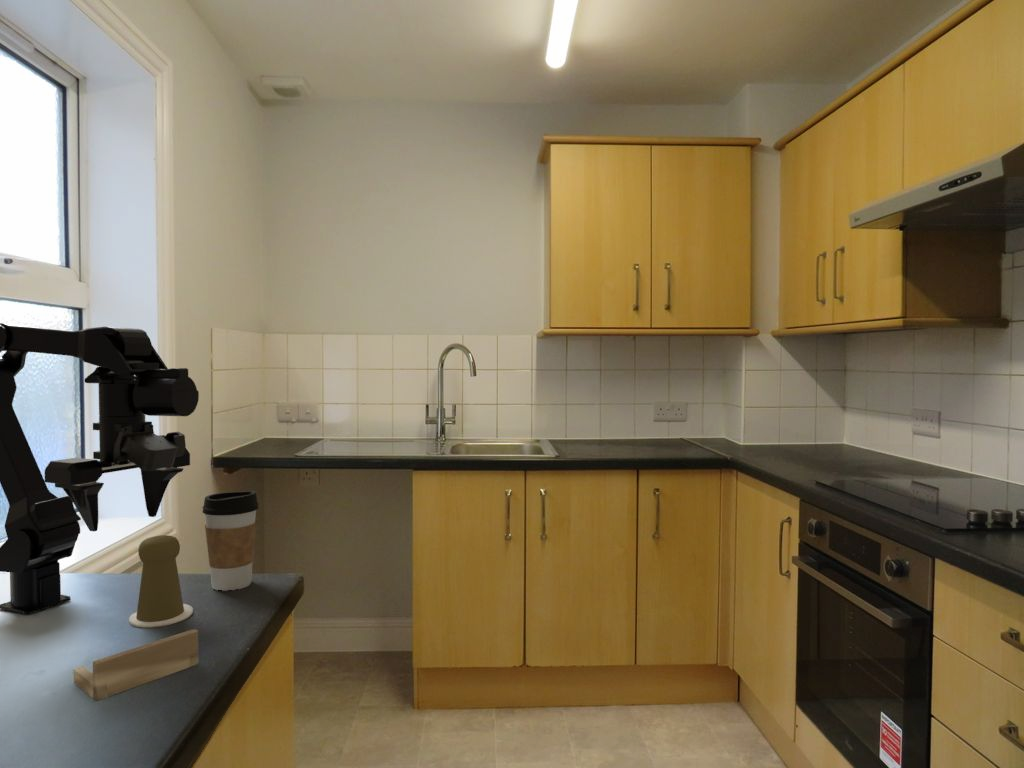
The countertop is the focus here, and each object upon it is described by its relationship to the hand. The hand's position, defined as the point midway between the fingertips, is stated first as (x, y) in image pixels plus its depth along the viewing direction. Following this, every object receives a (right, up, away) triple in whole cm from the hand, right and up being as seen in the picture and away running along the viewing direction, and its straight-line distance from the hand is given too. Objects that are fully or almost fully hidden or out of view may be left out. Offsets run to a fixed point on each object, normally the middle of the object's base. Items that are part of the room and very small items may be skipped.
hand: (124, 523), depth 95 cm
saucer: (+6, -13, -1) cm, 14 cm away
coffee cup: (+10, -13, +13) cm, 21 cm away
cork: (+6, -13, -1) cm, 14 cm away
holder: (+12, -14, -18) cm, 26 cm away
